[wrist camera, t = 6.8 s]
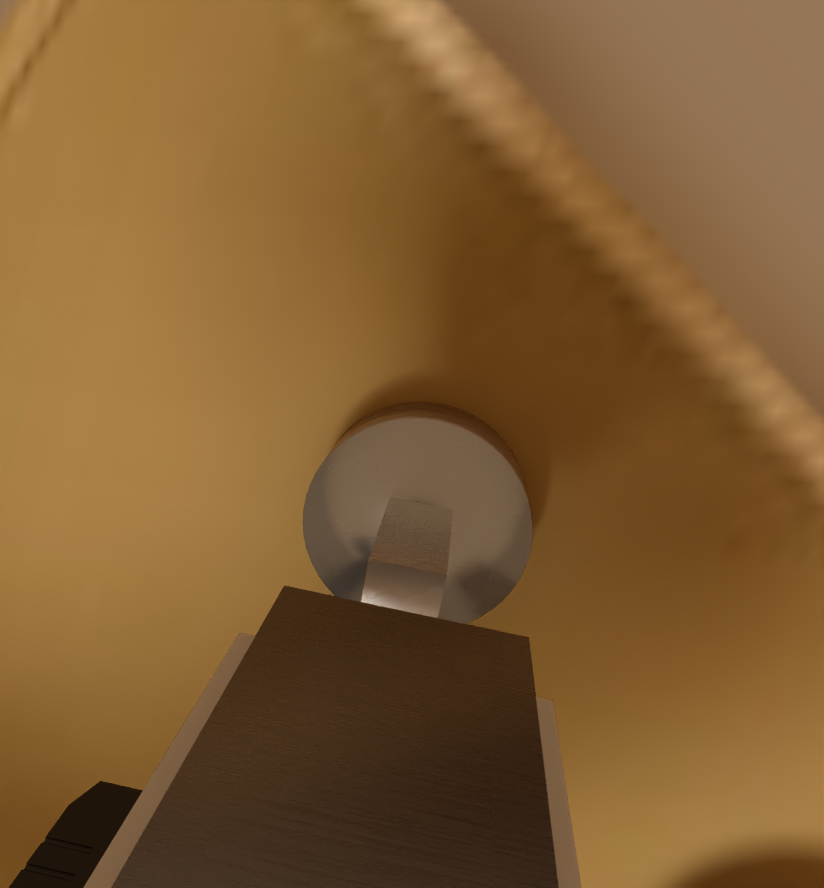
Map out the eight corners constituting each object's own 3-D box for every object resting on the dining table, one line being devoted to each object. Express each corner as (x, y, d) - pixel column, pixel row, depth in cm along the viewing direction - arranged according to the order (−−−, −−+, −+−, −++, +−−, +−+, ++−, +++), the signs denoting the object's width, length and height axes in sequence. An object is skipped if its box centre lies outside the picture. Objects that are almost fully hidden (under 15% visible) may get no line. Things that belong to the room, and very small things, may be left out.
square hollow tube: (284, 585, 13) (71, 955, 6) (528, 637, 13) (581, 1078, 6) (260, 775, 14) (71, 1231, 8) (477, 824, 14) (473, 1337, 8)
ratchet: (278, 788, 29) (220, 948, 23) (334, 383, 23) (276, 439, 17) (447, 826, 29) (439, 999, 22) (549, 425, 23) (578, 499, 16)
